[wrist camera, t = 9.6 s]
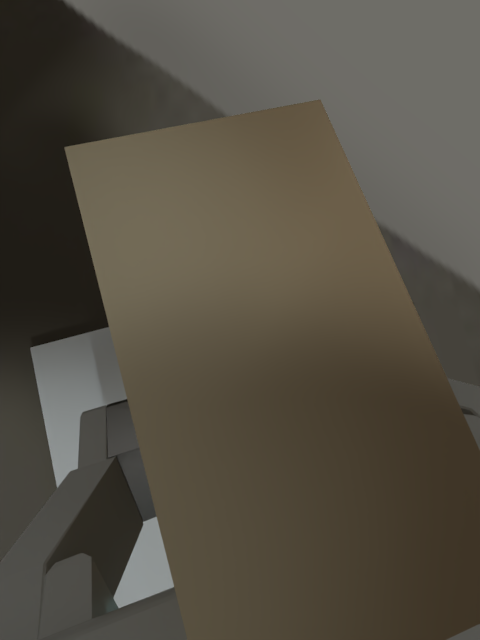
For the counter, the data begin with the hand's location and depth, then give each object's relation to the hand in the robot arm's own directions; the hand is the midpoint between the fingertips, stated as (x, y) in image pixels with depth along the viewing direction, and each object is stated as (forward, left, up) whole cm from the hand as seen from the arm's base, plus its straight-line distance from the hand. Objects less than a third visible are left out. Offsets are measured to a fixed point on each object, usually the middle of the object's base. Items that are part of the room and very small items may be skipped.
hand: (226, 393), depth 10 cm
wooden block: (0, -1, -6) cm, 6 cm away
